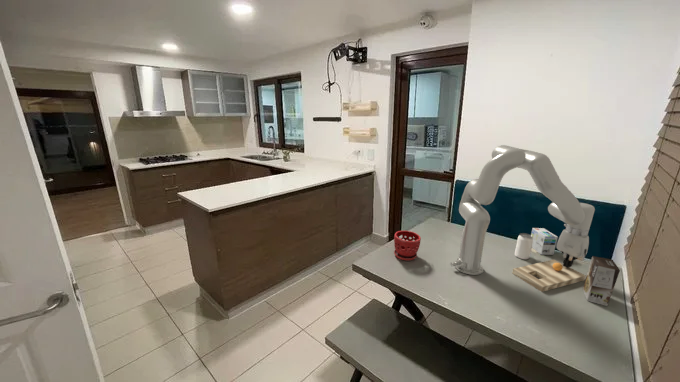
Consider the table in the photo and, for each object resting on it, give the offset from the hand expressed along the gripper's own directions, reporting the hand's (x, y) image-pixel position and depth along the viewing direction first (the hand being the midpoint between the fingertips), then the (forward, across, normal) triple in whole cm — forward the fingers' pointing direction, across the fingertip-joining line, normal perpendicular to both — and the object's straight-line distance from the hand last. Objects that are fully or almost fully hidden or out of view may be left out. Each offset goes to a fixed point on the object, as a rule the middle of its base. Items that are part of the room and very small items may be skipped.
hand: (566, 266), depth 125 cm
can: (+4, -17, -6) cm, 18 cm away
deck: (+3, 0, -12) cm, 12 cm away
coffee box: (+4, +16, -7) cm, 18 cm away
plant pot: (+4, -36, -63) cm, 73 cm away
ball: (-1, 0, -6) cm, 6 cm away
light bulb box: (+4, -19, +10) cm, 22 cm away
